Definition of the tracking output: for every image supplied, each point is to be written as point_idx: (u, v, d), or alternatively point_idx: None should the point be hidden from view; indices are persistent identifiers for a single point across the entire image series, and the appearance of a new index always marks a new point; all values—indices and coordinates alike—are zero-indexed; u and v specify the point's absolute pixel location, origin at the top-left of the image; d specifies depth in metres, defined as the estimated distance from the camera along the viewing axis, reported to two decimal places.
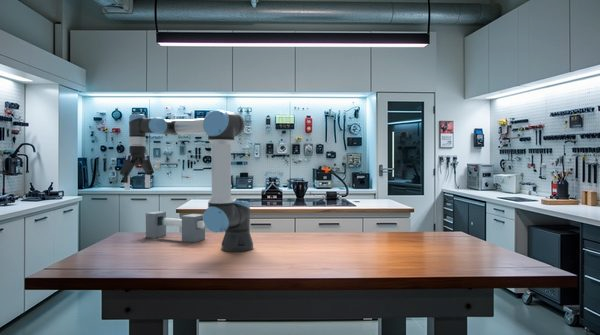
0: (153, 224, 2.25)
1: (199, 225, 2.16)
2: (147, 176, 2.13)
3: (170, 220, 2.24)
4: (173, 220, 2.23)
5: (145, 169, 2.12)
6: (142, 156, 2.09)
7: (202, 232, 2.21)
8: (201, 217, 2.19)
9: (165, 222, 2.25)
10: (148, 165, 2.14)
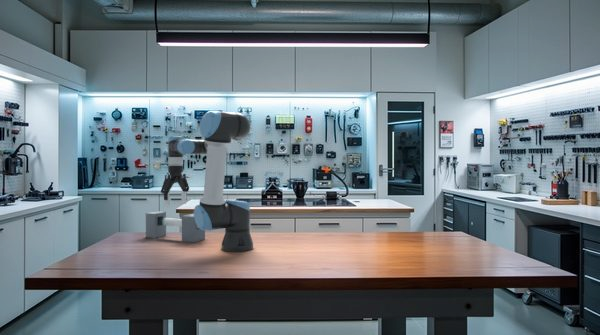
0: (153, 224, 2.25)
1: None
2: (183, 193, 2.30)
3: (170, 220, 2.24)
4: (173, 220, 2.23)
5: (182, 186, 2.29)
6: (179, 175, 2.25)
7: (202, 232, 2.21)
8: None
9: (165, 222, 2.25)
10: (184, 182, 2.30)
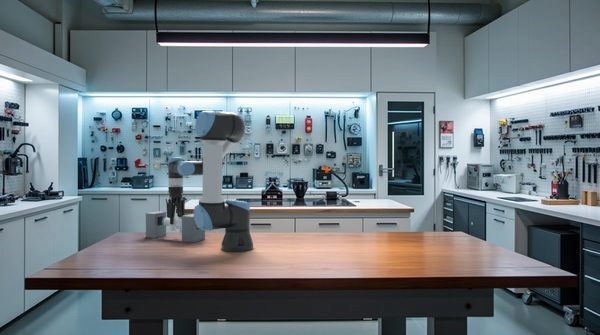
0: (153, 224, 2.25)
1: None
2: (178, 218, 2.26)
3: None
4: None
5: (178, 210, 2.26)
6: (180, 195, 2.26)
7: (202, 232, 2.21)
8: None
9: (165, 222, 2.25)
10: (181, 206, 2.28)
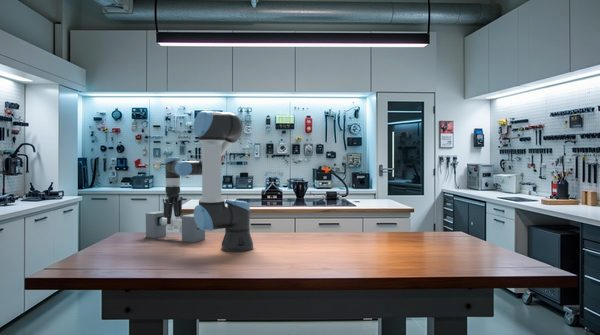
0: (153, 224, 2.25)
1: None
2: (175, 218, 2.27)
3: None
4: None
5: (175, 209, 2.27)
6: (177, 194, 2.27)
7: (202, 232, 2.21)
8: None
9: (162, 222, 2.25)
10: (179, 206, 2.29)
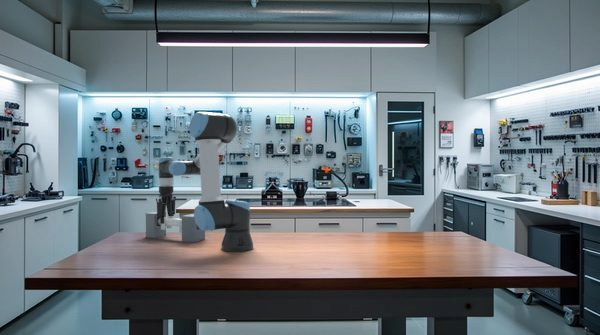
0: (153, 224, 2.25)
1: None
2: (169, 217, 2.29)
3: None
4: None
5: (169, 209, 2.28)
6: (170, 194, 2.28)
7: (202, 232, 2.21)
8: None
9: None
10: (172, 205, 2.31)
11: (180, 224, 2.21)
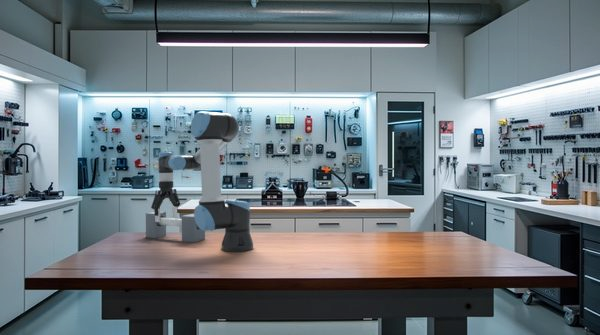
0: (153, 224, 2.25)
1: None
2: (174, 208, 2.32)
3: (160, 219, 2.26)
4: (163, 219, 2.26)
5: (172, 201, 2.31)
6: (170, 190, 2.28)
7: (202, 232, 2.21)
8: None
9: None
10: (175, 198, 2.33)
11: (180, 224, 2.21)
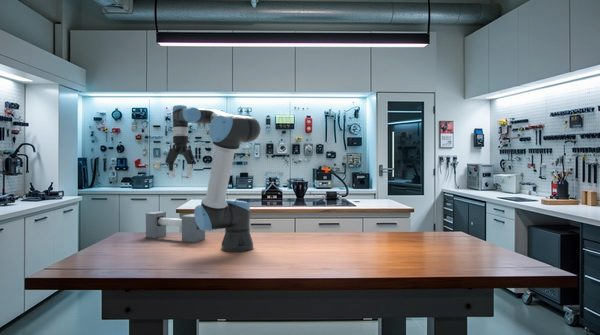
0: (153, 224, 2.25)
1: None
2: (189, 165, 2.22)
3: (160, 219, 2.26)
4: (163, 219, 2.26)
5: (187, 158, 2.21)
6: (185, 146, 2.18)
7: (202, 232, 2.21)
8: None
9: None
10: (189, 155, 2.23)
11: (180, 224, 2.21)
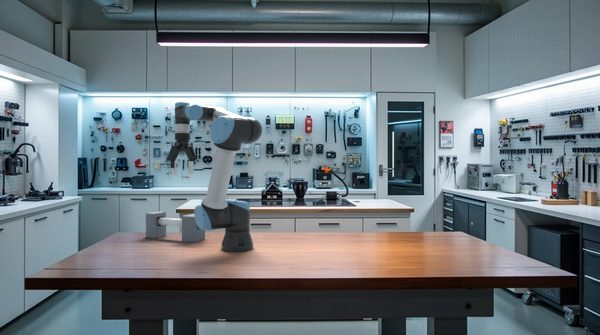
0: (153, 224, 2.25)
1: None
2: (190, 162, 2.21)
3: (160, 219, 2.26)
4: (163, 219, 2.26)
5: (189, 156, 2.20)
6: (186, 143, 2.17)
7: (202, 232, 2.21)
8: None
9: None
10: (191, 152, 2.22)
11: (180, 224, 2.21)
